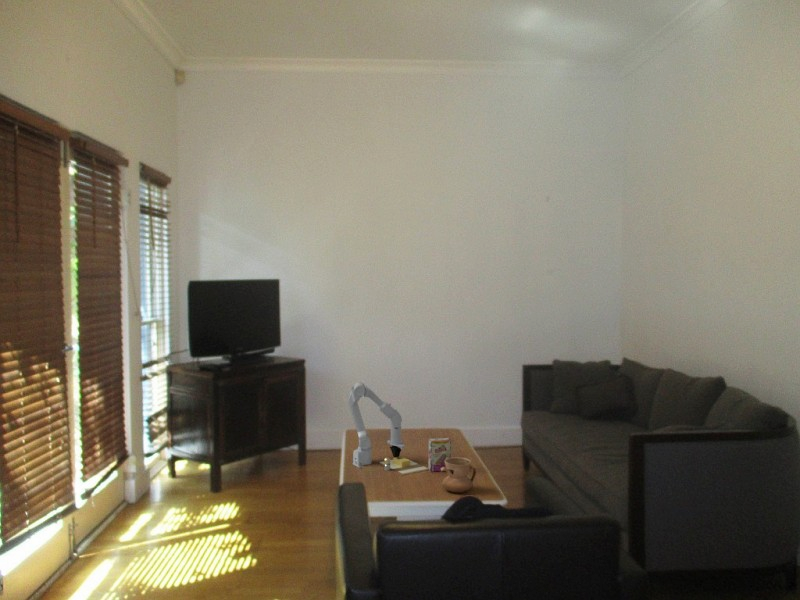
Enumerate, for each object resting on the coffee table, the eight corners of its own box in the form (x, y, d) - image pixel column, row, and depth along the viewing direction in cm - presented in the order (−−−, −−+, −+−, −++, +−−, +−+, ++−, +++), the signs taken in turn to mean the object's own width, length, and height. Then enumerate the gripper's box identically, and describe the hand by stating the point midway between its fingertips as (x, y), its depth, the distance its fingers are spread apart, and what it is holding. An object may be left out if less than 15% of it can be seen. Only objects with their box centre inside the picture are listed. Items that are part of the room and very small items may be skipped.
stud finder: (402, 467, 355) (402, 461, 355) (393, 463, 363) (393, 457, 363) (410, 465, 358) (410, 460, 358) (401, 461, 365) (401, 456, 365)
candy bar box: (430, 472, 349) (430, 441, 348) (428, 469, 354) (428, 438, 353) (451, 471, 352) (451, 439, 351) (448, 468, 357) (448, 437, 356)
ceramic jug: (444, 496, 313) (445, 466, 312) (435, 486, 327) (436, 457, 326) (481, 494, 317) (482, 464, 317) (471, 484, 331) (471, 455, 331)
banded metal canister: (386, 472, 349) (386, 459, 349) (383, 471, 352) (383, 458, 352) (391, 471, 351) (391, 458, 351) (388, 470, 354) (388, 457, 353)
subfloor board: (402, 475, 345) (402, 473, 344) (378, 464, 365) (378, 462, 365) (428, 470, 353) (428, 468, 353) (404, 459, 373) (404, 457, 373)
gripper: (409, 436, 360) (409, 461, 361) (395, 431, 373) (395, 455, 373) (398, 438, 357) (398, 463, 357) (384, 432, 369) (384, 457, 370)
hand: (396, 459), depth 365 cm, fingers closed
